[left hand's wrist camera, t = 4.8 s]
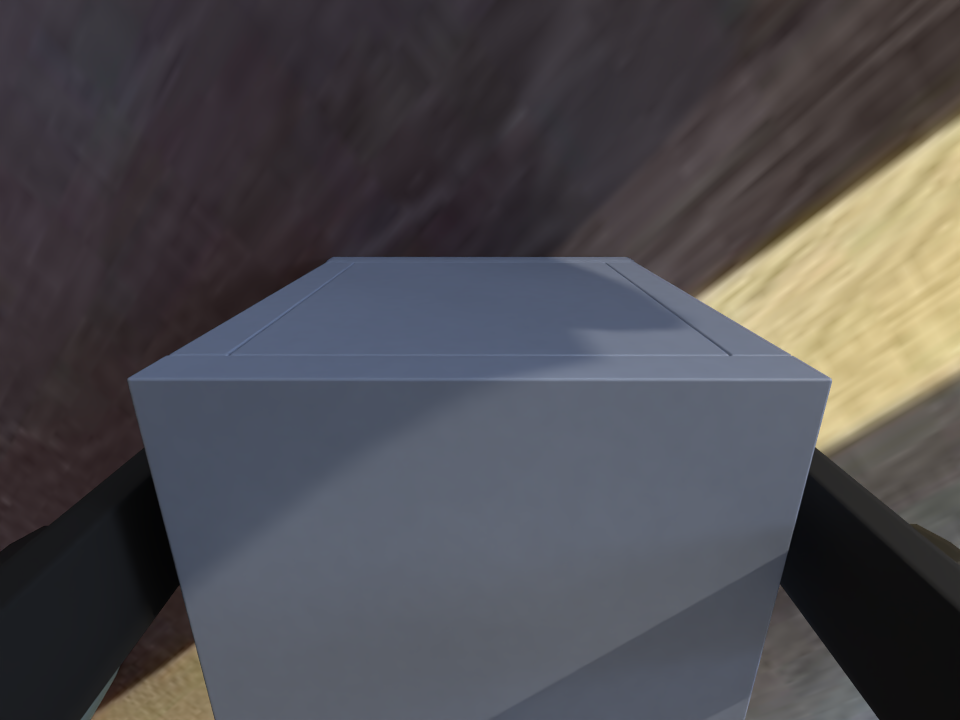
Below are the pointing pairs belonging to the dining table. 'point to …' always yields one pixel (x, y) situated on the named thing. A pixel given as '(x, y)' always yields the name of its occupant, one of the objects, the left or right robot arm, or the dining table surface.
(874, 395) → the dining table surface
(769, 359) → the cabinet
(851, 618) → the left robot arm
